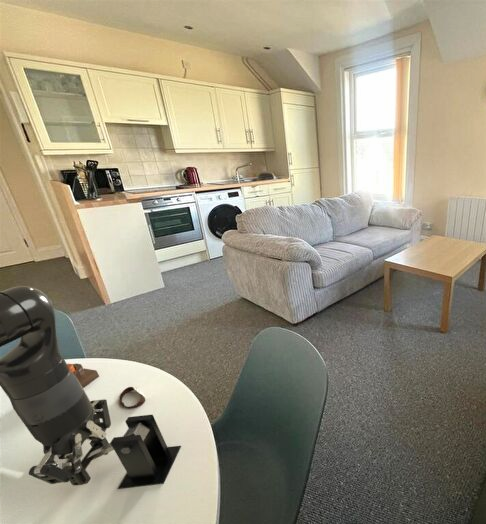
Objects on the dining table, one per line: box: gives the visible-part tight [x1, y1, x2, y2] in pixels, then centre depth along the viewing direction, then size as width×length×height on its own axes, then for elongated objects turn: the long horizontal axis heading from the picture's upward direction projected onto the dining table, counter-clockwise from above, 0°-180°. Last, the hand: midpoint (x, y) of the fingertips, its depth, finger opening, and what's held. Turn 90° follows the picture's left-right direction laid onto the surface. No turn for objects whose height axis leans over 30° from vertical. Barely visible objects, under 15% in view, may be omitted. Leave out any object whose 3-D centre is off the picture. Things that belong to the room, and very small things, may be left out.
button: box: [67, 363, 75, 372], centre depth 75 cm, size 4×4×2 cm
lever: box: [81, 423, 150, 470], centre depth 52 cm, size 13×4×2 cm, turn 94°
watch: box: [118, 386, 146, 410], centre depth 70 cm, size 8×5×4 cm, turn 58°
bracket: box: [109, 414, 182, 490], centre depth 53 cm, size 8×7×12 cm
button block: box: [71, 363, 100, 389], centre depth 76 cm, size 10×7×4 cm
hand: (94, 467), depth 54 cm, fingers closed on lever, 4 cm apart
